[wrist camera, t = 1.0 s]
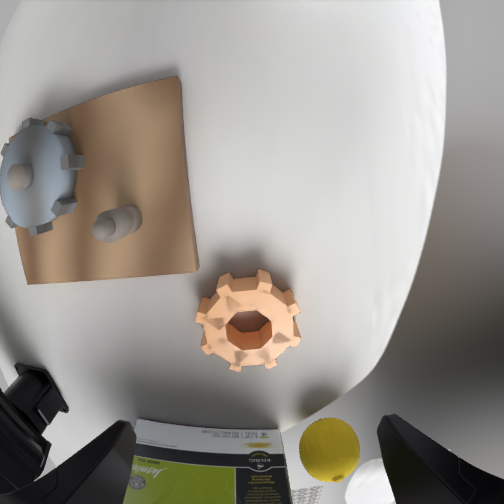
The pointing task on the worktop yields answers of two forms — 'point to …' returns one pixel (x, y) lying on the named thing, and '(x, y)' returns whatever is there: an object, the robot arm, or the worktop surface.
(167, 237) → the gear board
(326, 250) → the worktop surface
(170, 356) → the worktop surface
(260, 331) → the gear
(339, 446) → the lemon
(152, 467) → the tea box
